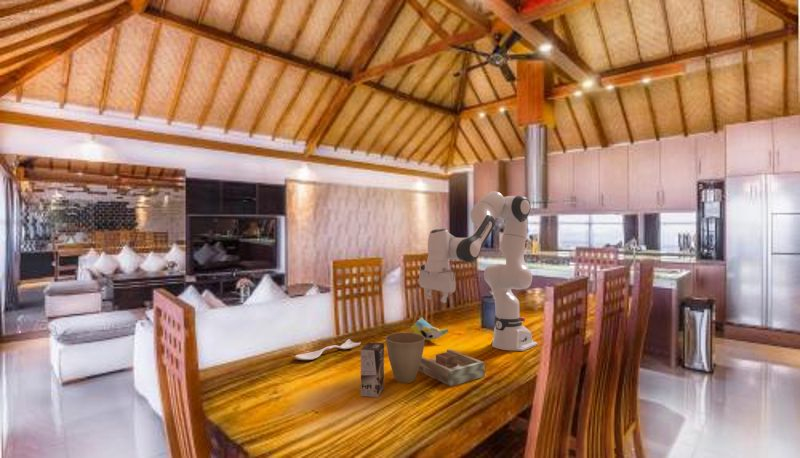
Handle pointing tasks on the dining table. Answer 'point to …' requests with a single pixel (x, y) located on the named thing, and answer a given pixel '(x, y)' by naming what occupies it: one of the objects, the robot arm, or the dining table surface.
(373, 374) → the coffee box
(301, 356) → the white plastic spork
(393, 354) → the plant pot
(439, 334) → the decorative bird
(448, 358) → the walnut block
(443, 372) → the tray
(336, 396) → the dining table surface
